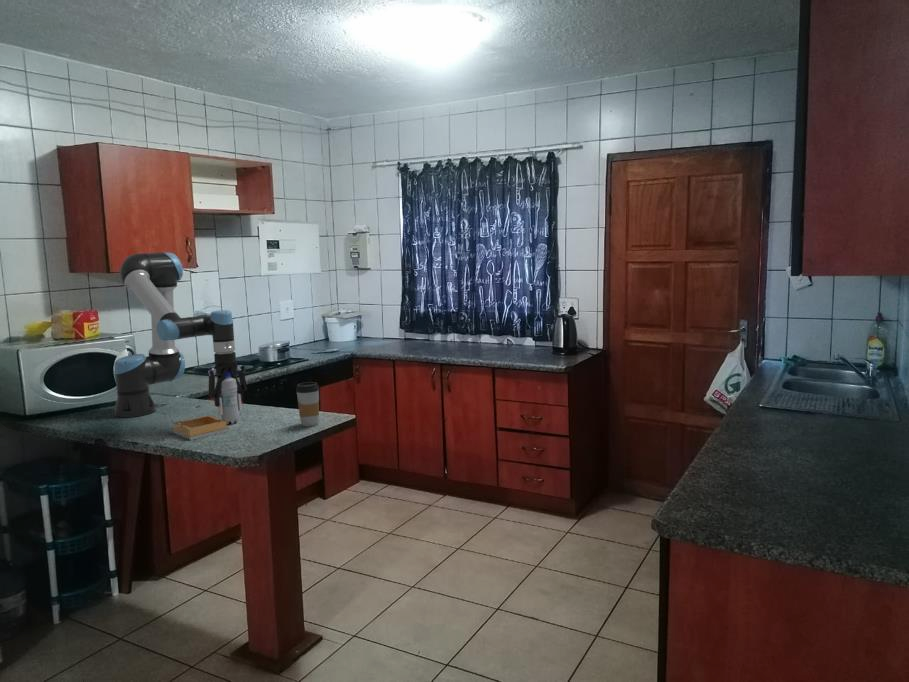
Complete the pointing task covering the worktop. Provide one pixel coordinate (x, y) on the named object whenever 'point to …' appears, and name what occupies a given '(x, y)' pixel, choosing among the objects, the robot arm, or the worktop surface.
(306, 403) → the coffee cup
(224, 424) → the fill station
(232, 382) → the bottle
